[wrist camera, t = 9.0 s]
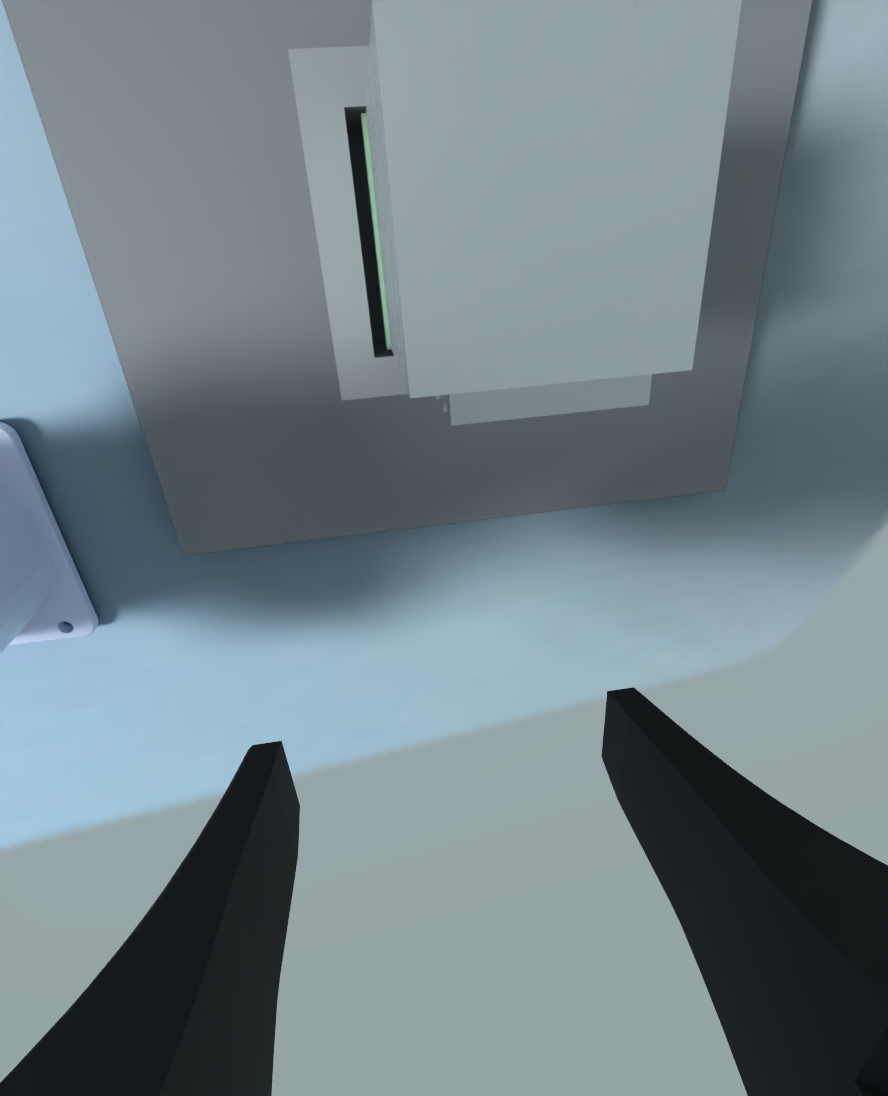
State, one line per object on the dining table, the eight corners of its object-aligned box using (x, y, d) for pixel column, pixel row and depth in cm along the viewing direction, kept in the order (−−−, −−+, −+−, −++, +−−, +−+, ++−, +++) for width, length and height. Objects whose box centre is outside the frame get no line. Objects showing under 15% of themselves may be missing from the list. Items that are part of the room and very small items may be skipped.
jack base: (190, 543, 20) (152, 607, 17) (-45, -203, 12) (-232, -419, 8) (710, 481, 22) (783, 526, 18) (823, -207, 14) (1000, -385, 10)
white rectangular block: (387, 360, 15) (407, 432, 8) (360, 125, 12) (364, -10, 6) (556, 344, 15) (692, 401, 9) (561, 114, 13) (751, -23, 7)
